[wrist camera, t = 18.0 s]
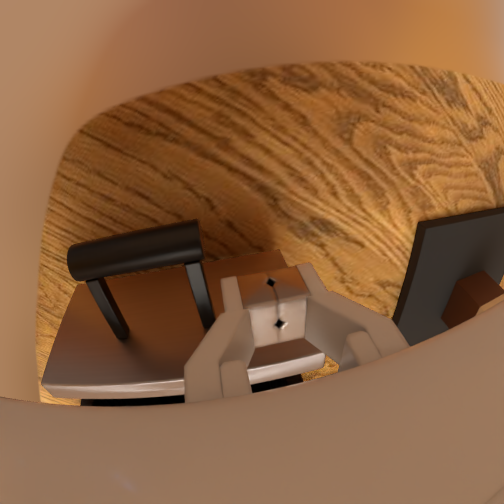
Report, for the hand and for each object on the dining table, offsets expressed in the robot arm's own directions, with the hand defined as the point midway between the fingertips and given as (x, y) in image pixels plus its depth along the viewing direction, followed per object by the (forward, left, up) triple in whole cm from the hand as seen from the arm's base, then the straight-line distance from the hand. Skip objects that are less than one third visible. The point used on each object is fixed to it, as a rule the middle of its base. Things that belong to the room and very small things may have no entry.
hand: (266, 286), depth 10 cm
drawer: (+7, -4, -6) cm, 10 cm away
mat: (+12, +22, -7) cm, 26 cm away
